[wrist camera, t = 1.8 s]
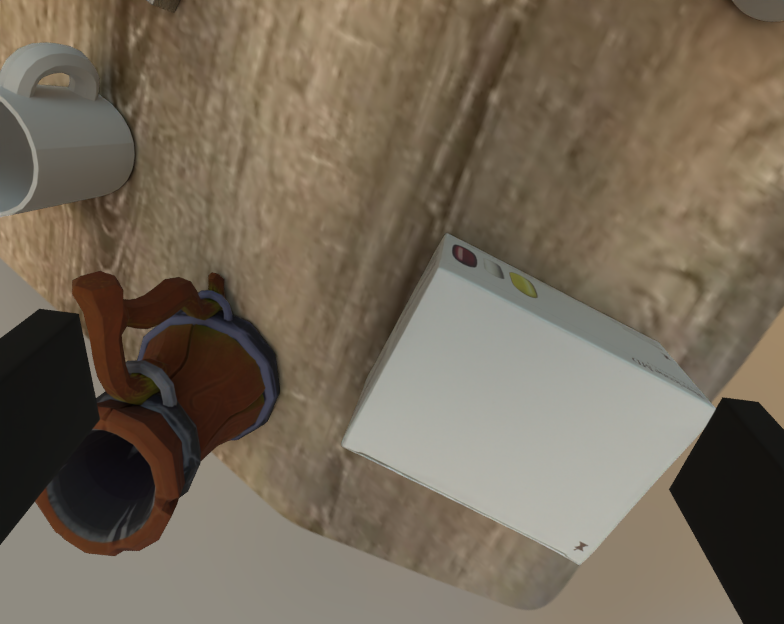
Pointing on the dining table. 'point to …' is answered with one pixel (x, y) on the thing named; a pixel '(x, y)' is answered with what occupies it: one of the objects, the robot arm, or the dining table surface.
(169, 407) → the mug
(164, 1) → the kitchen scale
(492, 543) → the dining table surface
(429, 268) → the supplement box
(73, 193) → the cup
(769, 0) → the beverage can
